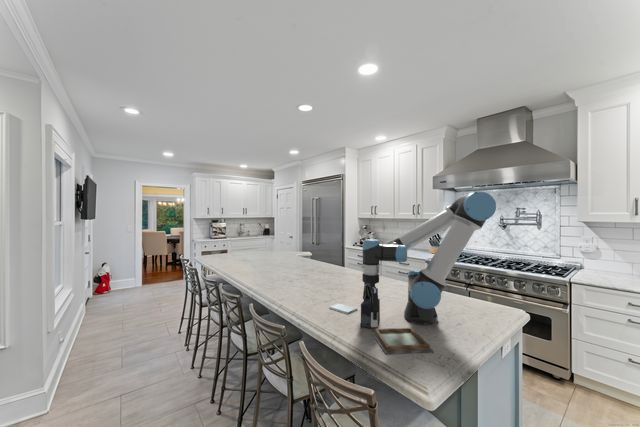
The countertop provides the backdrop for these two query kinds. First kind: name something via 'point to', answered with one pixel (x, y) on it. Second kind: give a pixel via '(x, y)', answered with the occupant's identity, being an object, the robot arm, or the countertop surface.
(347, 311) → the hard drive
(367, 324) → the small box
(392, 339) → the wooden picture frame
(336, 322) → the countertop surface
